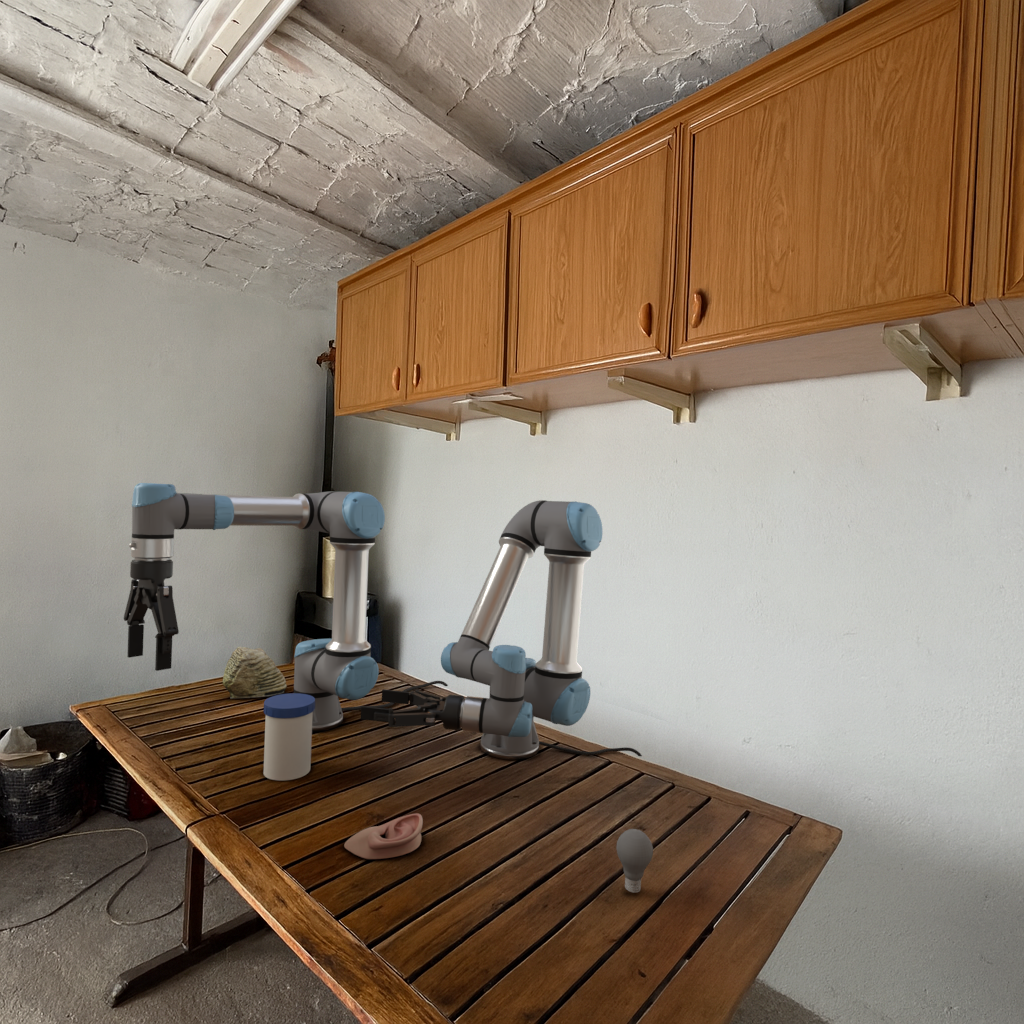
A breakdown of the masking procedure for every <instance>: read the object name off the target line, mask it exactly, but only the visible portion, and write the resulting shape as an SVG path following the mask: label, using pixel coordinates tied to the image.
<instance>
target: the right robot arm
mask: <svg viewBox="0 0 1024 1024" xmlns="http://www.w3.org/2000/svg"><path fill="white" fill-rule="evenodd" d="M602 540H603V523H602V518H601V517H600V514H599V513H598V511H597V509H596V508H595V507H594V505H592V504H590V503H587V502H580V501H575V500H574V501H566V500H565V501H563V500H561V501H560V500H543V499H540V500H539V499H538V500H534V501H532V502H529V503H528V504H526V505H525V506H523V507H522V508H520V509H519V510H518V511H517V512H516V513H515V514H514V515H513V516H512V518H511V519H510V520H509V521H508V523H506V526H505V527H504V528H503V531H502V533H501V535H500V536H499V539H498V544H499V546H500V547H499V549H498V551H497V553H496V556H495V558H494V560H493V563H492V564H491V567H490V569H489V572H488V574H487V576H486V578H485V581H484V582H483V585H482V587H481V589H480V592H479V593H478V597H477V599H476V601H475V602H474V605H473V608H472V609H471V611H470V614H469V617H468V618H467V621H466V623H465V626H464V628H463V629H462V632H461V635H460V636H459V639H458V640H457V641H456V642H450V643H448V644H447V645H446V646H445V647H444V648H443V650H442V651H441V655H440V664H441V667H442V670H443V671H444V672H445V673H446V674H449V675H452V676H455V677H456V678H460V679H465V680H469V681H472V682H476V683H478V684H482V685H486V686H489V696H488V697H489V698H488V697H483V696H482V697H481V696H472V695H471V696H470V695H467V696H466V697H465V696H464V695H459V694H448V695H447V696H443V695H438V694H435V693H431V692H428V691H424V690H421V689H414V690H411V691H408V692H404V691H403V690H392V689H384V688H383V689H382V690H381V702H383V703H390V702H391V703H395V704H399V705H409V707H410V706H416V707H413V708H404V709H396V710H394V708H393V707H388V708H387V707H386V708H377V707H368V706H369V705H361V706H362V707H361V710H360V717H359V718H360V719H359V720H363V721H373V722H382V723H388V727H389V728H403V727H420V726H421V727H422V726H423V727H425V726H426V727H435V726H436V722H437V721H438V722H439V721H440V722H442V726H443V728H444V730H449V731H460V730H462V731H463V732H469V733H472V735H476V734H478V733H479V734H481V738H480V745H479V747H480V750H481V751H482V752H483V753H484V754H486V755H488V756H490V757H493V758H496V759H500V760H509V761H510V760H513V761H514V760H523V759H528V758H531V757H534V756H536V755H537V754H538V753H539V751H540V746H543V747H546V748H547V747H548V748H551V749H554V750H558V751H561V752H567V753H571V754H575V755H580V756H596V755H600V754H604V753H611V752H612V753H614V752H631V753H634V754H635V755H637V756H638V757H643V755H642V753H640V752H639V751H638V749H635V748H633V747H627V746H626V747H613V748H611V747H610V748H603V749H602V748H601V749H599V750H594V751H585V750H584V751H583V750H577V749H576V750H575V749H571V748H568V747H562V746H559V745H555V744H552V743H547V742H544V741H540V739H539V735H538V732H537V729H536V724H535V721H534V718H538V719H541V720H542V721H543V720H544V721H546V722H550V723H552V724H554V725H561V726H565V727H570V726H573V725H575V724H576V723H578V722H579V721H580V720H581V719H582V718H583V715H584V714H585V713H586V711H587V709H588V707H589V704H590V699H591V687H590V683H589V682H588V681H587V680H586V679H585V678H583V667H582V666H581V665H580V664H579V663H578V651H579V638H580V637H579V636H580V625H581V611H582V609H581V608H582V598H583V587H584V571H585V564H586V563H587V562H588V561H590V560H591V558H592V552H594V551H596V550H597V549H598V548H599V547H600V545H601V542H602ZM539 547H543V555H544V557H545V558H546V559H547V560H548V562H549V563H548V574H547V589H546V600H545V601H546V602H545V614H544V626H543V628H544V629H543V630H544V631H543V638H542V639H543V640H542V654H541V658H540V659H539V660H538V661H537V660H536V659H534V658H531V657H526V654H527V653H526V651H525V649H524V648H522V647H521V646H518V645H511V644H499V645H495V646H494V647H493V649H492V650H490V648H491V645H492V644H493V641H494V638H495V637H496V634H497V632H498V629H499V627H500V624H501V622H502V620H503V617H504V615H505V613H506V611H507V609H508V606H509V603H510V601H511V598H512V596H513V594H514V592H515V589H516V587H517V584H518V582H519V580H520V577H521V575H522V573H523V570H524V569H525V566H526V563H527V561H528V559H530V558H532V557H534V555H535V552H536V550H537V549H538V548H539Z"/></svg>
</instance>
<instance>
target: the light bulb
mask: <svg viewBox="0 0 1024 1024" xmlns="http://www.w3.org/2000/svg"><path fill="white" fill-rule="evenodd" d="M615 849H616V854H617V857H618V859H619V861H620V863H621V865H622V867H623V873H624V874H623V875H624V876H625V878H624V888H625V890H627V891H628V892H630V893H634V894H635V893H639V892H640V891H641V889H642V887H641V886H642V879H643V877H644V875H645V871H646V868H647V867H648V866H649V864H650V863H651V861H652V859H653V855H654V847H653V843H652V841H651V838H649V836H648V835H647V834H646V833H645V832H643V831H642V830H641V829H636V828H629V829H627V830H625V831H623V832H622V833H621V834H620V835H619V837H618V839H617V841H616V847H615Z"/></svg>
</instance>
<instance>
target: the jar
mask: <svg viewBox="0 0 1024 1024" xmlns="http://www.w3.org/2000/svg"><path fill="white" fill-rule="evenodd" d="M312 715H313V712H312V713H310V714H307V715H304V716H301V717H295V718H274V717H270V716H267V715H265V718H264V719H265V723H264V747H263V749H264V750H263V772H262V773H263V776H264V777H265V778H267V779H269V780H272V781H280V782H281V781H284V782H285V781H293V780H296V779H300V778H302V777H304V776H307V774H309V773H310V772H311V763H312V741H313V740H312V739H313V738H312V737H313V732H312Z"/></svg>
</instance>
